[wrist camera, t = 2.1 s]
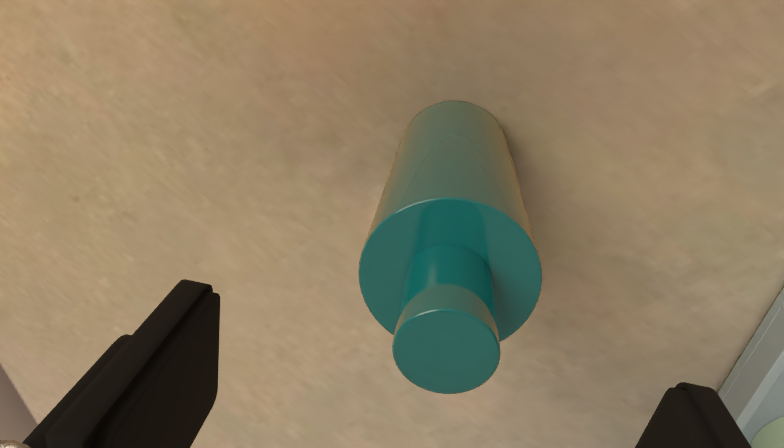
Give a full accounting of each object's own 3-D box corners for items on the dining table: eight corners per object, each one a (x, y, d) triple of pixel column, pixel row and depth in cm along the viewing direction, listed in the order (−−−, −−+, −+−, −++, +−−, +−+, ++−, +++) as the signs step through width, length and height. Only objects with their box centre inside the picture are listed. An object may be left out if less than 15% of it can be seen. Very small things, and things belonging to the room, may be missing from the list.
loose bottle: (410, 90, 23) (350, 233, 10) (521, 112, 23) (595, 284, 10) (391, 192, 25) (323, 410, 13) (492, 213, 25) (524, 454, 13)
